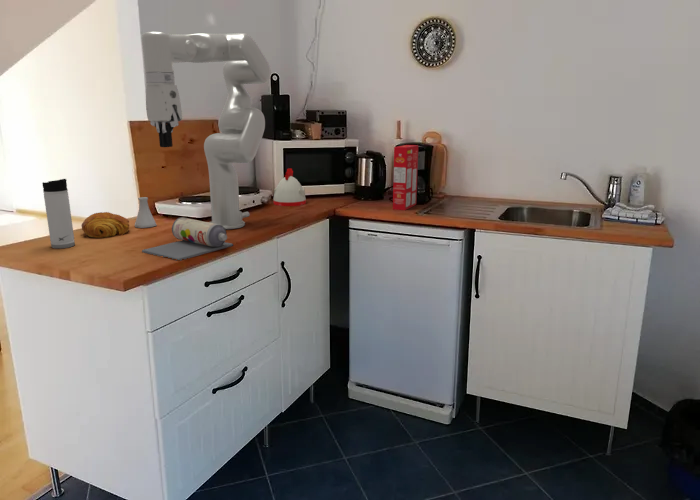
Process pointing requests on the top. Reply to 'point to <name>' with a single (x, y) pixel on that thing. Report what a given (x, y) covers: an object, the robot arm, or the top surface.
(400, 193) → the food packaging
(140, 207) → the flask
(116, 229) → the croissant
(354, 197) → the top surface
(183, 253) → the mat
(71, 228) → the travel mug
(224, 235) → the aerosol can
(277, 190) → the kitchen timer
